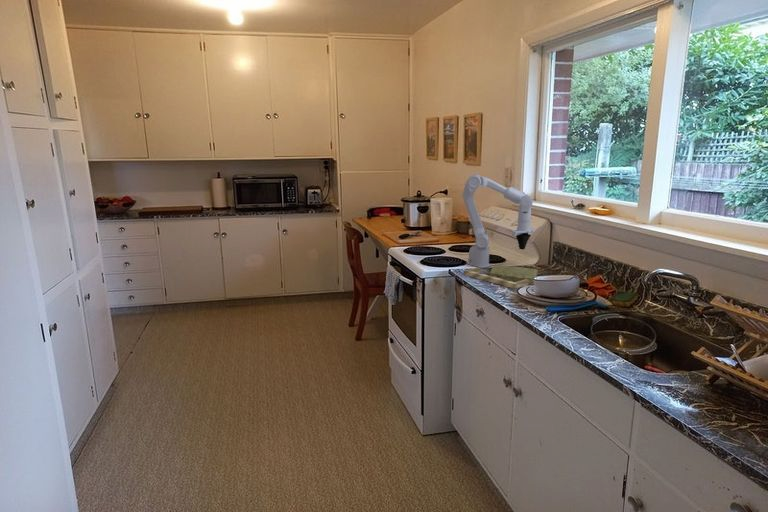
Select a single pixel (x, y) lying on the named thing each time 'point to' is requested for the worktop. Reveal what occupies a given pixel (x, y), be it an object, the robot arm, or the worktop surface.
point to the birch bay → (494, 279)
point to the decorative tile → (513, 273)
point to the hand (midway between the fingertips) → (521, 249)
